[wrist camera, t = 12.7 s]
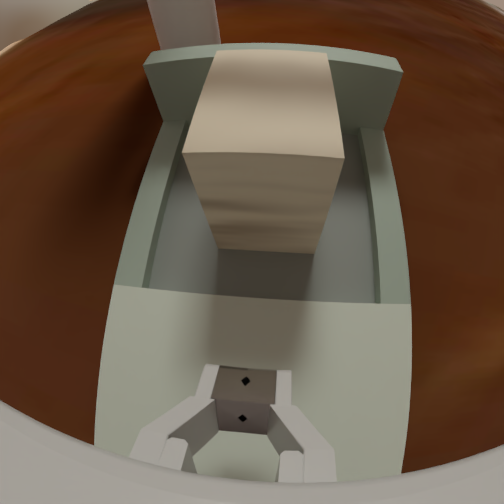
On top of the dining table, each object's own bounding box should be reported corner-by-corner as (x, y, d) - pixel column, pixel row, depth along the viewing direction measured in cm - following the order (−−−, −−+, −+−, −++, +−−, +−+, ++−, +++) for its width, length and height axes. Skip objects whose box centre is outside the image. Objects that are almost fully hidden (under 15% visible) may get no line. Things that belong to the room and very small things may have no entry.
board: (370, 555, 10) (406, 610, 3) (107, 527, 12) (49, 566, 5) (374, 126, 23) (395, 58, 16) (173, 118, 25) (151, 51, 18)
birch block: (314, 254, 18) (344, 158, 10) (218, 248, 19) (182, 152, 11) (312, 155, 22) (326, 53, 13) (232, 151, 22) (216, 50, 14)
